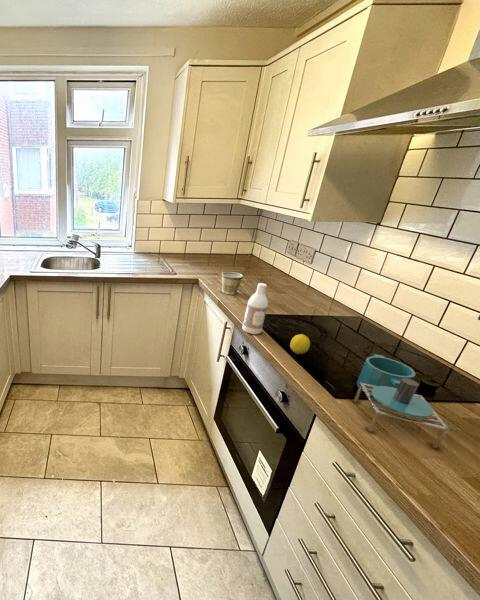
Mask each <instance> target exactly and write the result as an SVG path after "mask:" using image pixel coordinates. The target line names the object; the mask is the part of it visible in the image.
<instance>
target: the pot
mask: <svg viewBox="0 0 480 600" xmlns="http://www.w3.org/2000/svg"><path fill="white" fill-rule="evenodd" d="M415 376H416V371H415V370H414V369H413V368H412V367H410V366H408V365H406V364H405V363H403V362H400V361H398V360H394V359H392V358H389V357H385V356H384V355H381V354H376V353H374V354H372V355H371V356H368V357H366V359H365V361H364V363H363V365H362V368H361V370H360V373H359V375H358V378H357V380H356V386H357V388H359V386H360V384H359V383H365V384H370V385H374V386H388V387H393V388H398V386H399V384H400V382H401V380H402V379H403V378H406V379H410V380H413V381H414V379H415V378H416V377H415ZM365 387H366V388H368V389H373V388H371V387H367V386H365ZM367 391H368V392H369V393H371V391H369V390H367ZM361 392H363V393H364V391H363V389H362V391H361ZM370 396H371V397H373V395H370Z"/></svg>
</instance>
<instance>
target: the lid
mask: <svg viewBox="0 0 480 600" xmlns="http://www.w3.org/2000/svg"><path fill="white" fill-rule="evenodd" d="M418 388H419V383H418V382H417V381H415V380H414V379H413V380H410V379H406V378H403V379H402V380H401V382H400V384H399V386H398V388H393V387H388V386H377V387H374V388H373V389H372V391H371V393H372V395H373V397H374V398H375V399H376V400H375V401H376V402H378V403H381V404H383V405H384V406H383V407H386V408H387V409H390V410H394V411H397V412H399V413H402V414H405V415H404V416H406V415H408V416H407V417H410V416H413V417H412V418H415V417H419V418H431V417H430V416H432V414H433V410H434V409H433V407H432V406H431V404H430V403H429V402H428V401H427V402H425V401H424V400H422V399H421V398H419V397H417V396H415V395H414V394H416V392H417V389H418ZM402 414H401V415H402ZM419 418H418V419H419Z"/></svg>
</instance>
